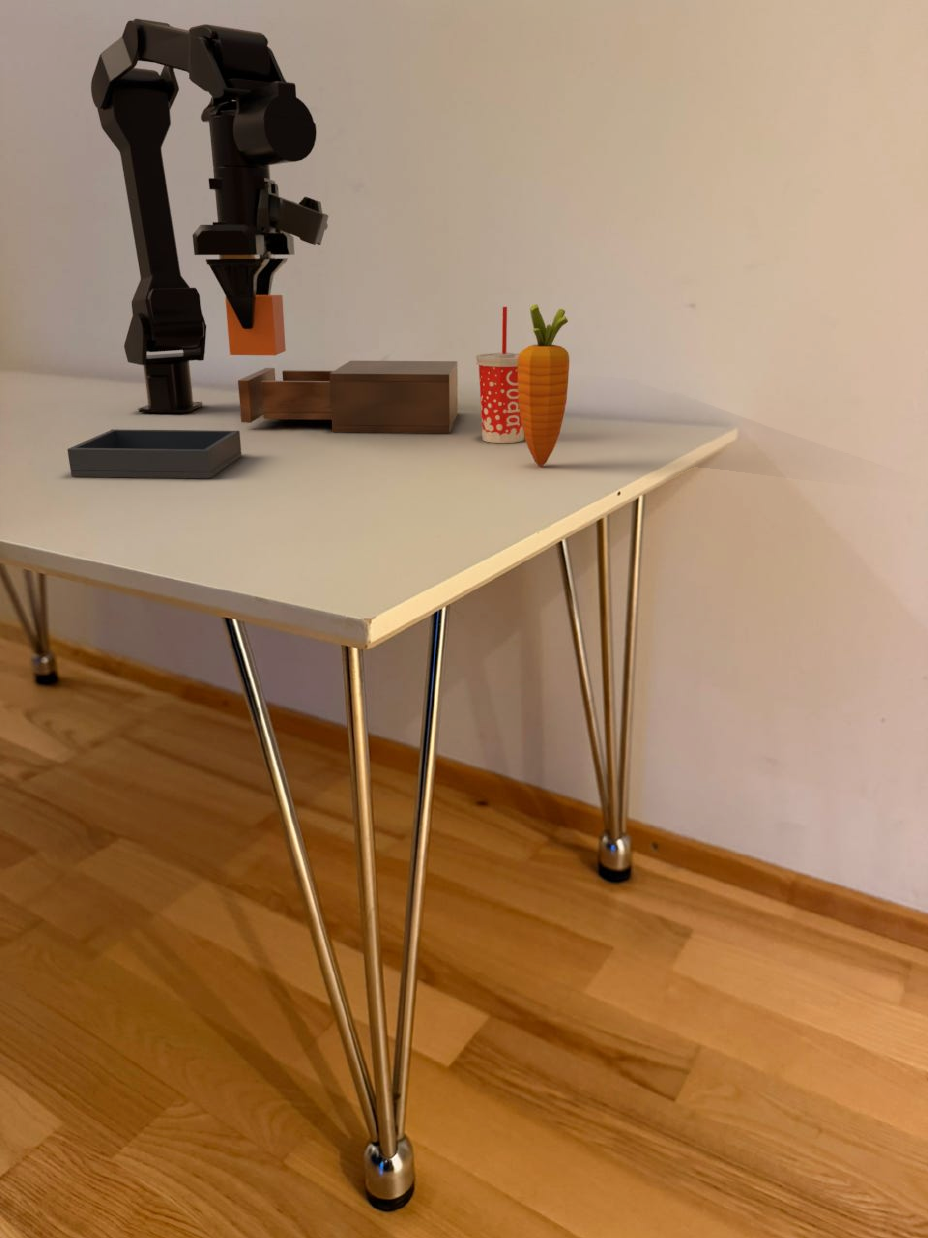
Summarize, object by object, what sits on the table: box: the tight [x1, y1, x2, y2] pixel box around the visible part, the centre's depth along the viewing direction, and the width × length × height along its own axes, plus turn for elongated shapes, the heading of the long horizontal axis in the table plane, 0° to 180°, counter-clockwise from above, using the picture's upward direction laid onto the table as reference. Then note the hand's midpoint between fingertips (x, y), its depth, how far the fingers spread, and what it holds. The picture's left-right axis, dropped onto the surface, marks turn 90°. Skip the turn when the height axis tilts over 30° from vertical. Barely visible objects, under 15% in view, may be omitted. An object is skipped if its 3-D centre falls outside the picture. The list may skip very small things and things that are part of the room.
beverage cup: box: [475, 306, 525, 444], centre depth 103 cm, size 6×6×14 cm
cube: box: [224, 294, 287, 356], centre depth 103 cm, size 5×5×6 cm
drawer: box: [237, 367, 334, 424], centre depth 115 cm, size 14×12×5 cm
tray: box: [66, 428, 243, 479], centre depth 92 cm, size 10×13×3 cm
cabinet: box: [329, 360, 459, 434], centre depth 114 cm, size 14×14×7 cm
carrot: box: [518, 304, 570, 468], centre depth 89 cm, size 5×5×15 cm
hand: (254, 326), depth 103 cm, fingers closed on cube, 5 cm apart
